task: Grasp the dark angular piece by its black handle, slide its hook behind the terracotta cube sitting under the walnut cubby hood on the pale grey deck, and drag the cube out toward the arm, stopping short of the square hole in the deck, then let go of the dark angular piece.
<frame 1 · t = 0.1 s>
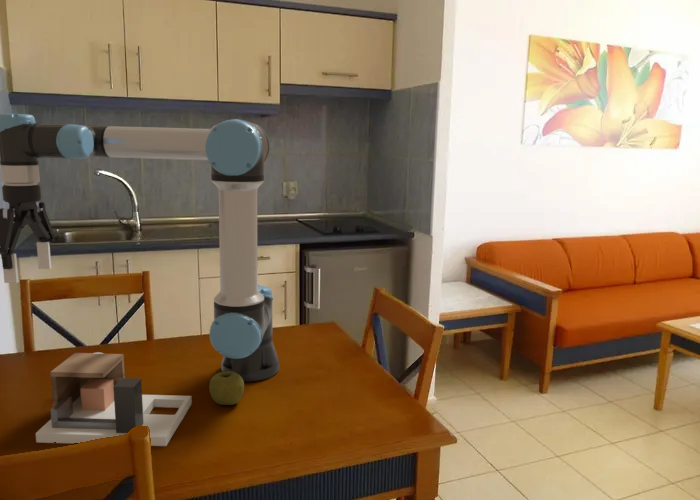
hand: (29, 275, 130), 28 cm above the table, fingers open, 13 cm apart
cubby: (92, 413, 123), resting on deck
apple: (227, 403, 130), on the table
cube: (98, 404, 123), point 2 cm above the table, touching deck
pill bottle: (97, 388, 136), on the table
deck: (119, 421, 120), on the table
dark angular piece: (130, 428, 114), point 2 cm above the table, touching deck
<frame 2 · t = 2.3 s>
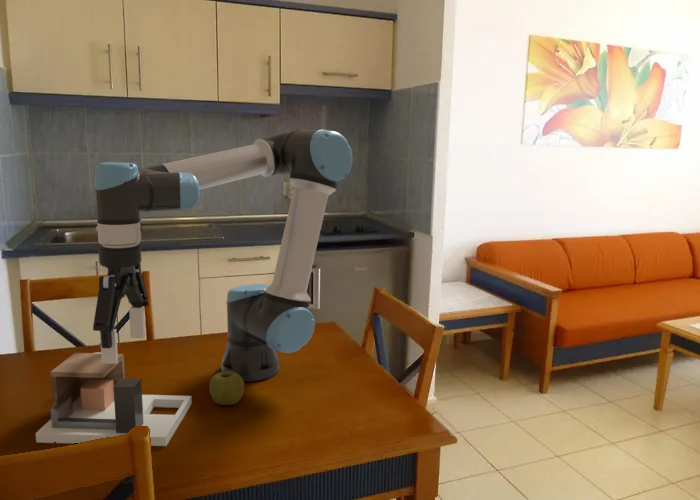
hand: (124, 349, 110), 19 cm above the table, fingers open, 13 cm apart
nothing on the table moved.
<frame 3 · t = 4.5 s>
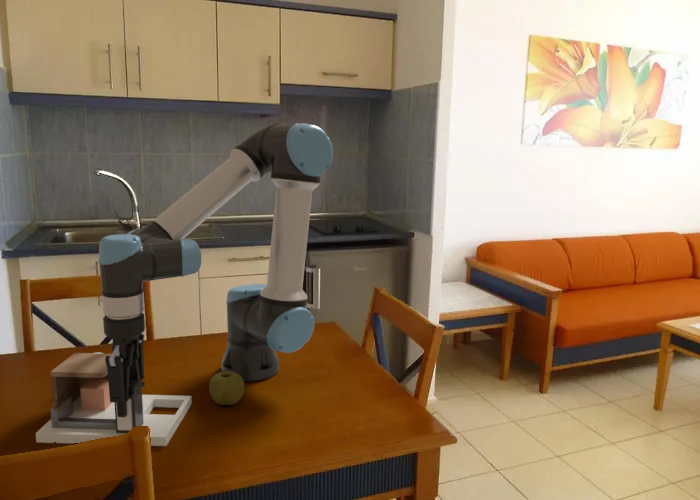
hand: (129, 423, 114), 3 cm above the table, fingers closed on dark angular piece, 4 cm apart
dark angular piece: (130, 428, 114), point 2 cm above the table, touching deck, gripper
everything else where it was.
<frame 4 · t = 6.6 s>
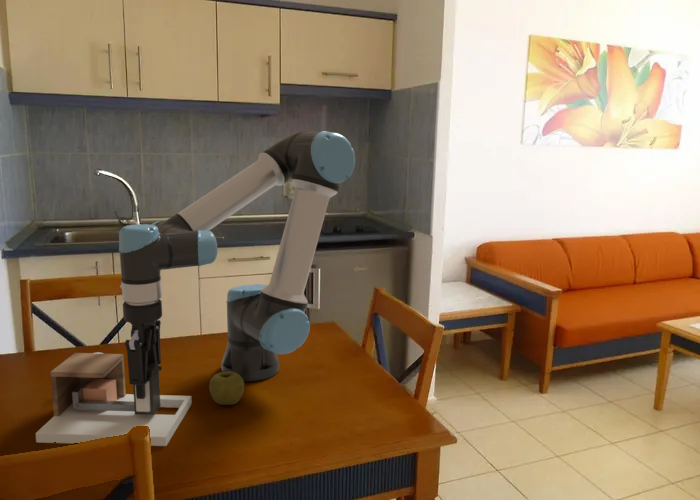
hand: (147, 405, 119), 4 cm above the table, fingers closed on dark angular piece, 4 cm apart
dark angular piece: (147, 410, 119), point 3 cm above the table, touching gripper
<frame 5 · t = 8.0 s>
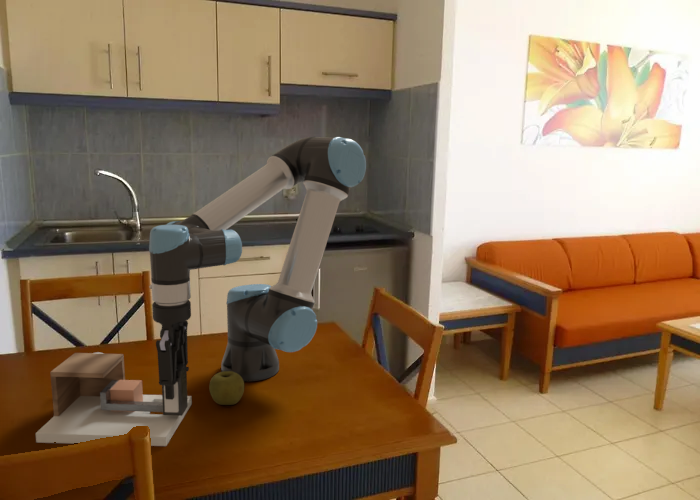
hand: (175, 405, 119), 4 cm above the table, fingers closed on dark angular piece, 4 cm apart
cube: (127, 405, 123), point 2 cm above the table, touching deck, dark angular piece
dark angular piece: (175, 410, 119), point 3 cm above the table, touching cube, gripper
everything else where it was.
when the fingers open (3 cm above the table, at t = 8.9 s): dark angular piece stays where it is, resting on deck.
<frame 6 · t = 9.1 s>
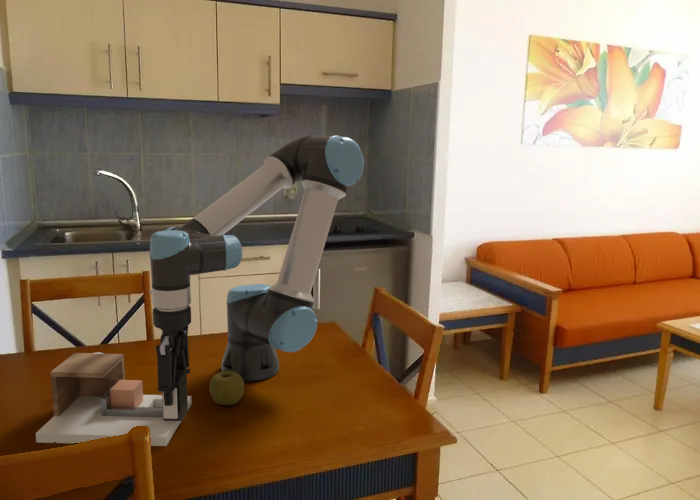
hand: (175, 409, 119), 3 cm above the table, fingers open, 6 cm apart
cube: (127, 406, 123), point 2 cm above the table, touching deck
dark angular piece: (175, 416, 119), point 2 cm above the table, touching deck
everything else where it was.
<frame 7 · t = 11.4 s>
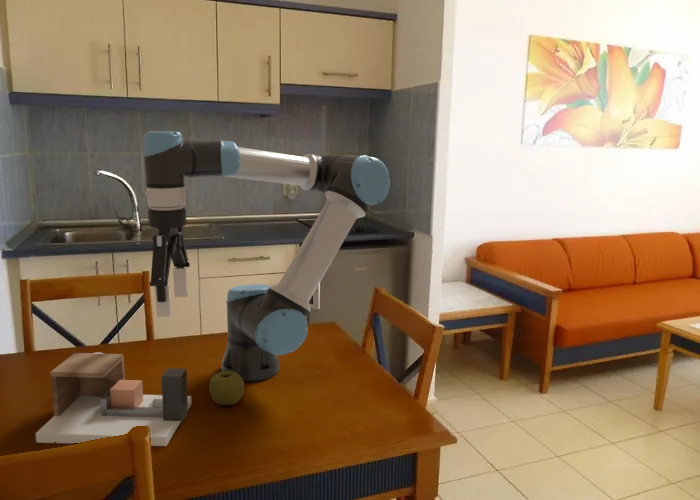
hand: (173, 305, 119), 25 cm above the table, fingers open, 13 cm apart
nothing on the table moved.
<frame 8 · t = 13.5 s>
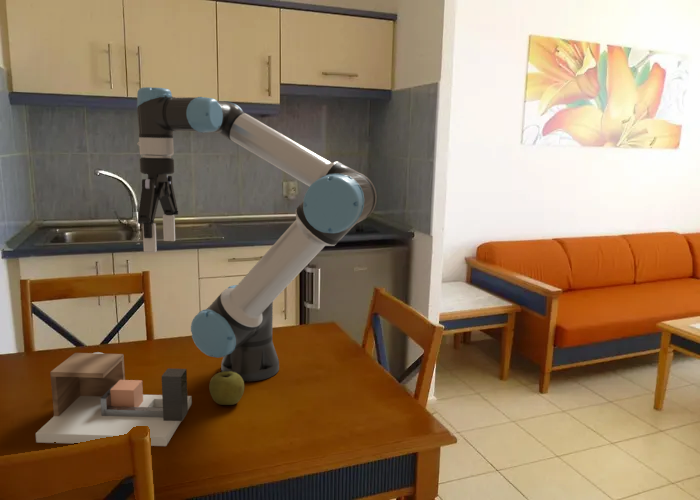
hand: (160, 246, 134), 35 cm above the table, fingers open, 13 cm apart
nothing on the table moved.
at the end: cube inside the target area (0.6 cm from its centre), point 2.0 cm above the table; cube tilted 0°; the gripper is holding nothing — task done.
